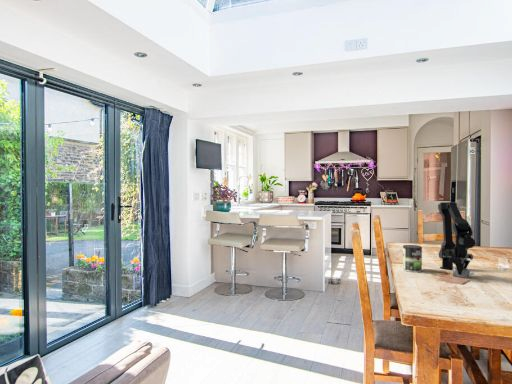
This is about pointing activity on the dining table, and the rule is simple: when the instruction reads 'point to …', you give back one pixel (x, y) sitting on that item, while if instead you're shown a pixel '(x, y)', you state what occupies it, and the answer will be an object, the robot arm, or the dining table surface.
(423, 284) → the dining table surface
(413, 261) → the coffee can
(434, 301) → the dining table surface
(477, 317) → the dining table surface
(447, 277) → the plate
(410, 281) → the dining table surface
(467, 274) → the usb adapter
